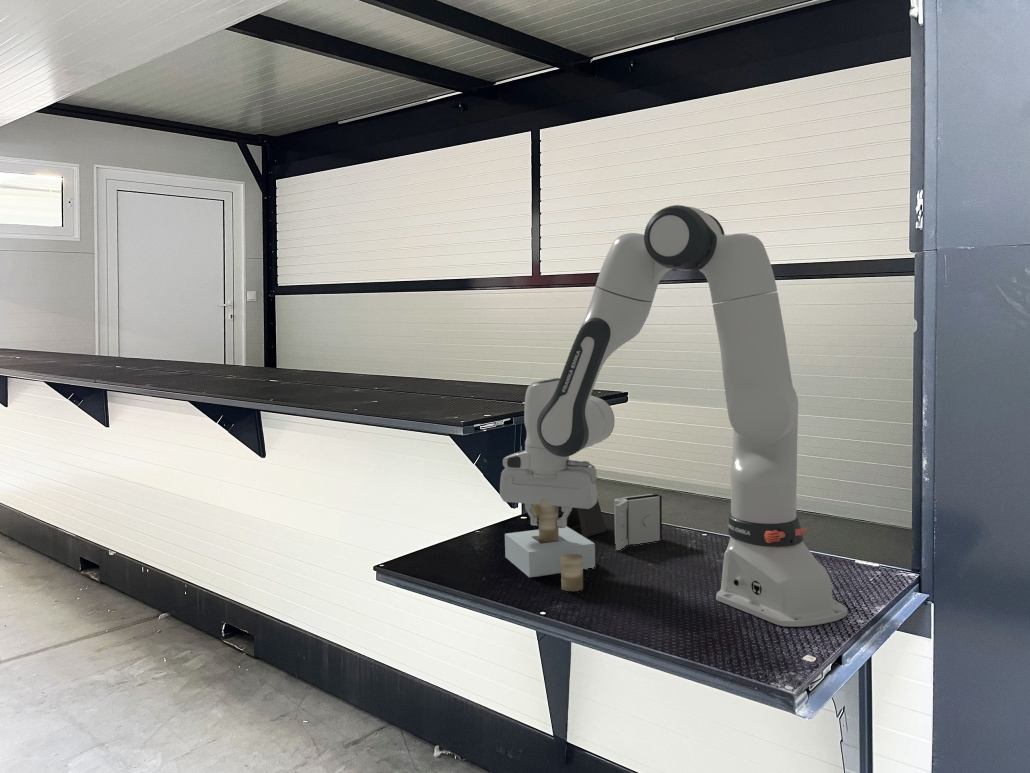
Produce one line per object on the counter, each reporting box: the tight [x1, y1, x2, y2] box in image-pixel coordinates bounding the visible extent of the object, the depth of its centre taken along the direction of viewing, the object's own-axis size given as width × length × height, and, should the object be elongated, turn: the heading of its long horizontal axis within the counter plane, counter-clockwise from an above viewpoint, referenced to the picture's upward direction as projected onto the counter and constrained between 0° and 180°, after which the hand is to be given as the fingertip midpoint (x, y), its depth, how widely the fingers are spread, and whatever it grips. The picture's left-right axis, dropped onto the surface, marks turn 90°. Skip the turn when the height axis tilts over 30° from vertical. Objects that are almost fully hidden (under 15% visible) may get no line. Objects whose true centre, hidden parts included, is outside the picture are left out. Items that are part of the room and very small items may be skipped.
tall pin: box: [538, 499, 559, 544], centre depth 163 cm, size 4×4×12 cm
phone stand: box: [567, 481, 607, 539], centre depth 185 cm, size 9×6×12 cm, turn 40°
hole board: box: [504, 526, 596, 578], centre depth 163 cm, size 14×14×5 cm
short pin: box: [560, 554, 584, 592], centre depth 148 cm, size 4×4×6 cm
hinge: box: [613, 493, 663, 551], centre depth 175 cm, size 14×5×10 cm, turn 125°
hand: (548, 526), depth 163 cm, fingers open, 4 cm apart
